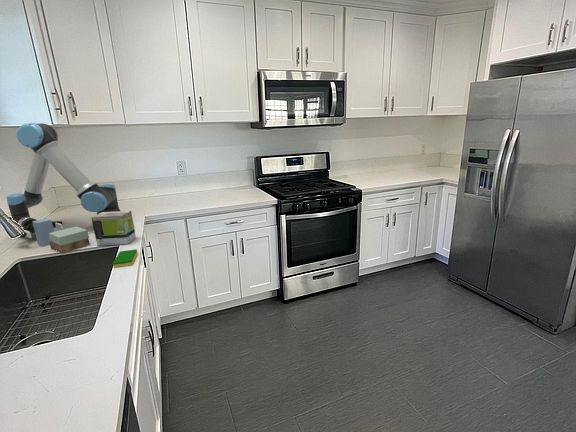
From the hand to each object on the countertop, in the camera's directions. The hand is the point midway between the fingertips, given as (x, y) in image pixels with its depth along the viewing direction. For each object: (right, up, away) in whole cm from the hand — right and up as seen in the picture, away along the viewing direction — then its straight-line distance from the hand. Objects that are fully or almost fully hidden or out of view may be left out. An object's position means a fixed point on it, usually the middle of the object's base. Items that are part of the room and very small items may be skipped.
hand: (46, 231), depth 156 cm
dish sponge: (+50, -12, -20) cm, 55 cm away
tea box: (+33, -6, +2) cm, 34 cm away
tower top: (+13, -4, -3) cm, 14 cm away
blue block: (-2, -6, +3) cm, 8 cm away
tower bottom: (+14, -8, -2) cm, 16 cm away
